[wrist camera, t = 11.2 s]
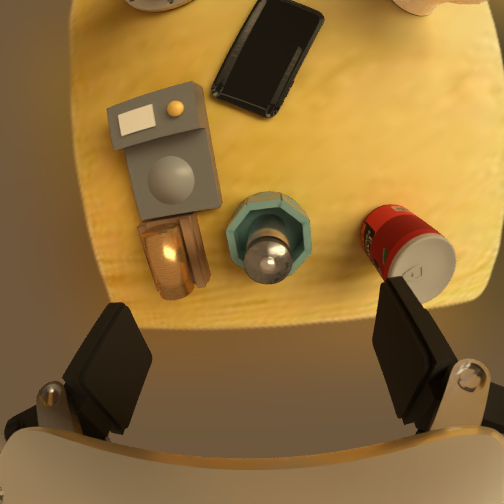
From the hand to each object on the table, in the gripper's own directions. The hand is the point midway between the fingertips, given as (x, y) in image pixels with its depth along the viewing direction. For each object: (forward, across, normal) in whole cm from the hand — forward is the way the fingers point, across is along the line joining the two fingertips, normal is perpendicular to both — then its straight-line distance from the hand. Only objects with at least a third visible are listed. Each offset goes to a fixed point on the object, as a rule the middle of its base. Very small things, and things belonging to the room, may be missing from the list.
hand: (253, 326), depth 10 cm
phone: (+25, -3, -15) cm, 29 cm away
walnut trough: (+24, +12, +8) cm, 28 cm away
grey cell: (+23, 0, +6) cm, 24 cm away
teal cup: (+24, 0, +6) cm, 25 cm away
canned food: (+24, -15, +8) cm, 30 cm away
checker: (+25, +10, -4) cm, 27 cm away
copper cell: (+22, +12, +8) cm, 27 cm away
